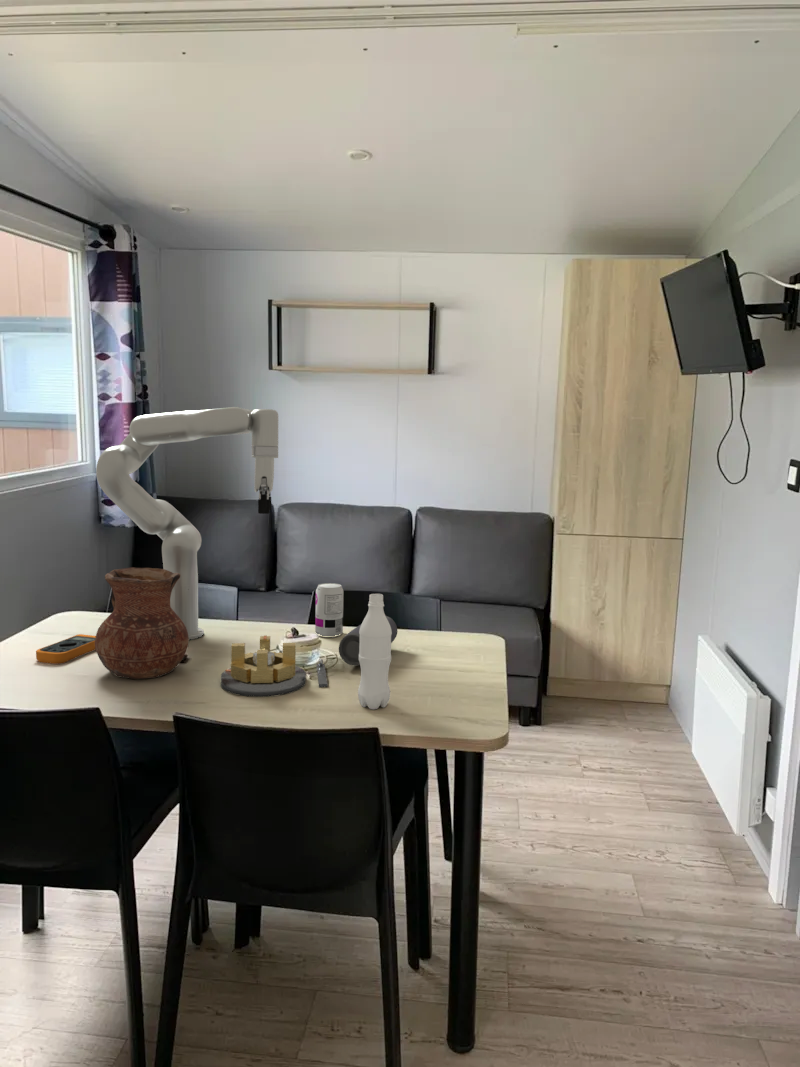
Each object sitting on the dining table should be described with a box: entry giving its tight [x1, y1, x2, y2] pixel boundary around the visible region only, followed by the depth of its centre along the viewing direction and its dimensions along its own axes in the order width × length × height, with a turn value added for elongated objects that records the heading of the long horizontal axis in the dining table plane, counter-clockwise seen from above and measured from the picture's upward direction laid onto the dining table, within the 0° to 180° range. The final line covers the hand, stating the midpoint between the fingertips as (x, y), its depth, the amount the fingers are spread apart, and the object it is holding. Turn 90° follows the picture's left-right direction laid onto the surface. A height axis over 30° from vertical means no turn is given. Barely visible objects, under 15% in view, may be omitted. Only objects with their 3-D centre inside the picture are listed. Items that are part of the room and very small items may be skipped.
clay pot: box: [95, 566, 190, 680], centre depth 187 cm, size 22×21×25 cm
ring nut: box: [230, 635, 297, 683], centre depth 181 cm, size 15×15×7 cm
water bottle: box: [357, 593, 392, 710], centre depth 167 cm, size 7×7×25 cm
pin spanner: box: [316, 659, 329, 688], centre depth 188 cm, size 16×2×3 cm, turn 8°
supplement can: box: [314, 582, 344, 636], centre depth 227 cm, size 8×8×15 cm
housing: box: [220, 651, 307, 698], centre depth 182 cm, size 20×20×7 cm
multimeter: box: [35, 633, 96, 665], centre depth 201 cm, size 9×18×3 cm, turn 165°
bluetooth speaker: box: [338, 615, 398, 666], centre depth 204 cm, size 23×9×10 cm, turn 161°
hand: (264, 511), depth 220 cm, fingers open, 9 cm apart
